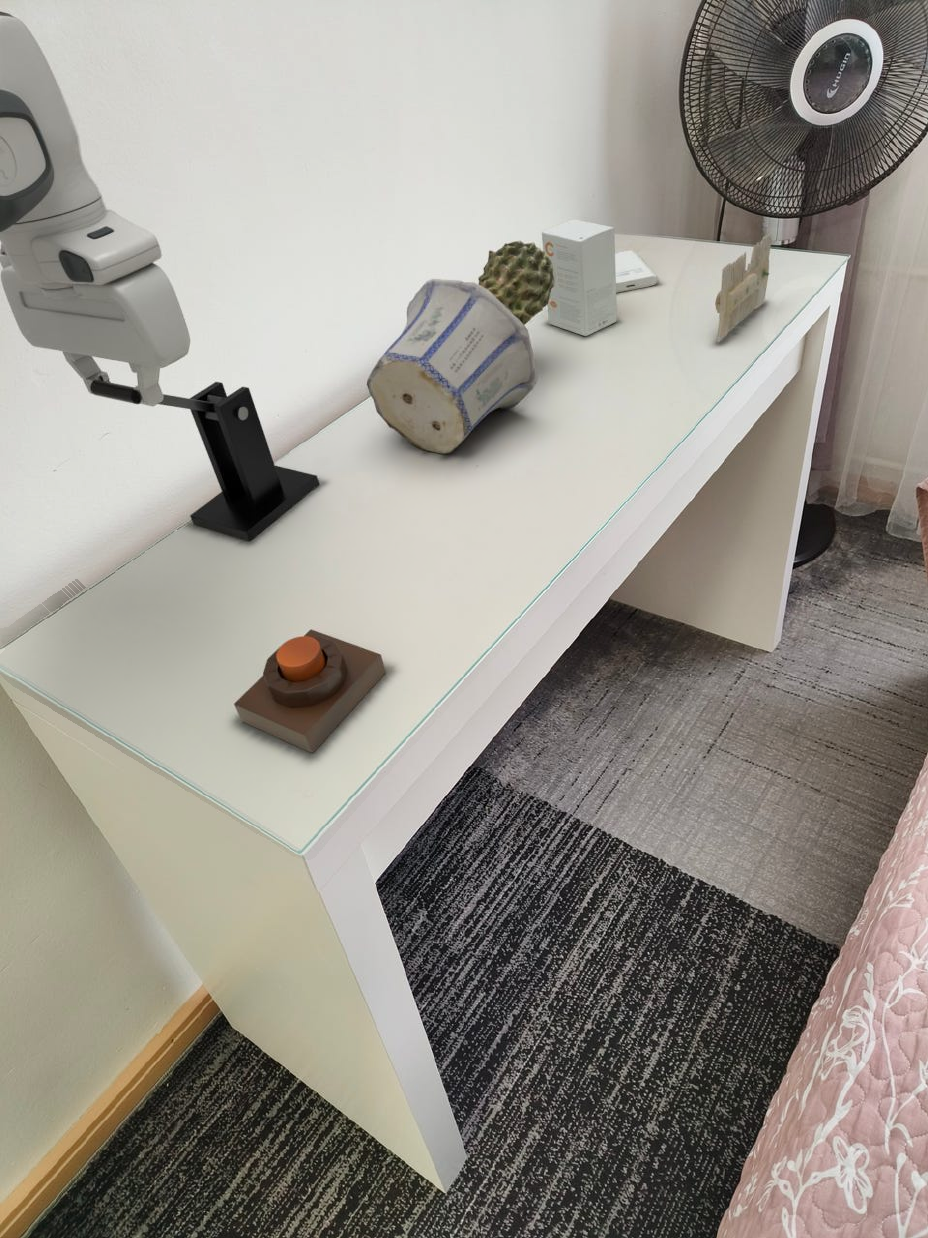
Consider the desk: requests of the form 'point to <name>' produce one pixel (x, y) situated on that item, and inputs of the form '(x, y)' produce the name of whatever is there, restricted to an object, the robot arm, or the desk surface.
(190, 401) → the lever
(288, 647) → the button
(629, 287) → the hard drive
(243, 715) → the button block
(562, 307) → the small box
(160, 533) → the desk surface
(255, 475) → the bracket
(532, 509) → the desk surface
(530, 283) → the potted plant
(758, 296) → the wooden plank panel
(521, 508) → the desk surface
